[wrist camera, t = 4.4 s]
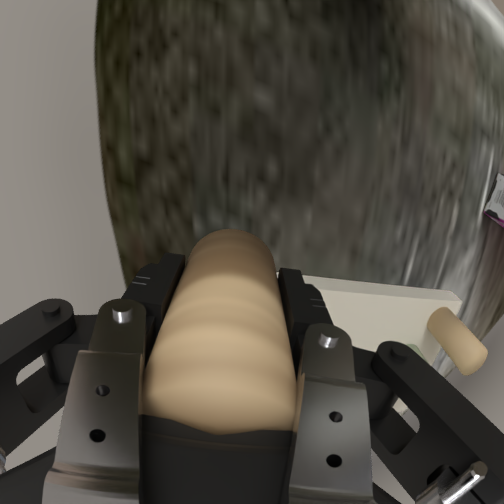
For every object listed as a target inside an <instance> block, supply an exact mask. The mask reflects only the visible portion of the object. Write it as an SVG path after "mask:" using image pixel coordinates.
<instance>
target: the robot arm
mask: <svg viewBox="0 0 504 504" xmlns="http://www.w3.org/2000/svg"><path fill="white" fill-rule="evenodd" d="M184 268H185V255H180V254H172V253H165V254H164V256H163V257H162V259H161V261H160V262H159V264H152V263H150V264H148V265H146V266H145V267H143V268H141V269H140V271H139V272H138V273H137V275H136V277H135V278H134V279H133V281H132V283H131V284H130V285H129V287H128V288H127V290H126V291H125V293H124V295H123V296H122V298H121V299H114V300H111V301H108V302H106V303H105V304H104V305H102V306H101V308H100V309H99V312H98V314H97V315H74V311H73V307H72V305H71V304H70V303H69V302H67V301H65V300H62V299H47V300H44V301H41V302H39V303H37V304H35V305H34V306H32V307H30V308H29V309H27V310H25V311H23V312H22V313H20V314H18V315H16V316H15V317H13V318H11V319H9V320H8V321H6V322H4V323H3V324H1V325H0V504H401V503H400V502H398V501H397V500H396V499H394V498H393V497H392V496H391V495H389V494H388V493H386V492H385V491H384V490H383V489H381V488H380V487H379V486H377V485H376V484H375V483H374V482H372V458H371V457H372V456H371V448H372V449H373V451H374V452H375V453H376V454H377V456H378V457H379V458H380V459H381V461H382V462H383V463H384V464H385V465H386V467H387V468H388V469H389V471H390V472H391V473H392V474H393V476H394V477H395V478H396V479H397V480H398V482H399V483H400V484H401V485H402V486H403V488H404V489H405V490H406V491H407V493H408V494H409V495H410V496H411V497H412V499H413V500H414V501H415V504H504V434H503V433H502V432H501V431H500V430H499V429H498V428H497V427H496V426H495V425H494V424H493V423H491V422H490V420H488V419H487V418H486V417H485V416H484V415H483V414H482V413H481V412H480V411H479V410H478V409H477V408H476V407H475V406H474V405H473V404H472V403H471V402H470V401H468V400H467V399H466V398H465V397H464V396H463V395H462V394H461V393H460V392H459V391H458V390H457V389H455V388H454V387H453V386H452V385H451V384H450V383H449V382H448V381H447V380H446V379H445V378H444V377H443V376H441V375H440V374H439V373H438V372H437V371H436V370H435V369H434V368H433V367H432V366H430V365H429V364H428V363H427V362H426V361H425V360H424V359H423V358H422V357H420V356H419V355H418V354H417V353H416V352H415V351H414V350H413V349H411V348H410V347H409V346H407V345H405V344H403V343H400V342H397V341H384V342H382V343H381V344H380V345H379V346H378V348H377V350H376V352H373V351H369V350H365V349H361V348H358V347H355V346H352V340H351V338H350V336H349V335H348V334H347V333H346V332H345V331H344V330H343V329H341V328H339V327H337V326H334V324H333V322H332V319H331V317H330V314H329V312H328V309H327V308H326V304H325V302H324V301H323V297H322V295H321V292H320V291H319V290H318V289H317V288H316V287H315V286H314V285H312V284H306V283H305V282H304V279H303V277H302V274H301V271H300V270H294V269H286V268H280V270H279V274H278V284H279V289H280V294H281V300H282V305H283V310H284V316H285V321H286V326H287V332H288V337H289V343H290V348H291V354H292V359H293V365H294V370H295V376H296V382H297V383H296V388H297V389H296V408H295V415H294V418H293V419H294V426H293V431H286V430H256V431H249V432H242V433H234V434H225V435H214V434H210V433H207V432H204V431H201V430H199V429H196V428H193V427H190V426H187V425H185V424H182V423H179V422H177V421H174V420H171V419H166V418H160V417H155V416H150V415H145V414H142V402H143V399H142V397H143V384H144V375H145V368H146V366H147V363H148V360H149V357H150V355H151V352H152V349H153V347H154V344H155V341H156V339H157V336H158V333H159V331H160V328H161V325H162V323H163V320H164V318H165V315H166V313H167V310H168V307H169V305H170V302H171V300H172V297H173V295H174V292H175V290H176V287H177V285H178V283H179V280H180V278H181V275H182V273H183V270H184ZM41 355H42V357H43V360H44V363H45V365H44V366H43V367H42V368H40V369H39V370H38V371H36V372H35V373H34V374H32V375H31V376H29V377H28V378H27V379H25V380H24V381H23V382H22V383H20V384H19V385H17V384H16V377H17V375H18V373H19V372H20V370H21V369H23V368H24V367H25V366H27V365H28V364H30V363H31V362H32V361H34V360H35V359H37V358H38V357H40V356H41ZM398 398H400V399H401V400H402V401H403V402H404V403H405V405H406V406H407V407H408V408H409V409H410V410H411V411H412V412H413V413H414V414H415V415H416V416H417V418H418V420H419V423H420V428H419V431H418V432H417V433H416V432H415V431H414V430H413V429H412V428H411V427H410V426H409V425H408V424H407V423H406V421H405V420H404V419H403V418H402V417H401V416H400V415H399V414H398V413H397V411H396V410H395V409H394V408H393V406H394V404H395V403H396V401H397V400H398ZM63 406H64V410H63V415H62V420H61V425H60V430H59V435H58V442H57V446H56V447H54V448H52V449H50V450H48V451H46V452H44V453H43V454H41V455H39V456H37V457H35V458H33V459H31V460H29V461H27V462H25V463H23V464H21V465H19V466H17V467H15V468H13V469H10V470H8V471H6V469H5V467H4V466H5V462H6V456H7V455H9V454H10V453H11V452H12V451H13V450H14V449H15V448H17V446H19V445H20V444H21V443H22V442H23V441H24V440H26V439H27V438H28V437H29V436H30V435H31V434H33V433H34V432H35V431H36V430H37V429H38V428H39V427H40V426H42V425H43V424H44V423H45V422H46V421H47V420H48V419H50V418H51V417H52V416H53V415H54V414H55V413H56V412H58V411H59V410H60V409H61V408H62V407H63Z"/></svg>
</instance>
